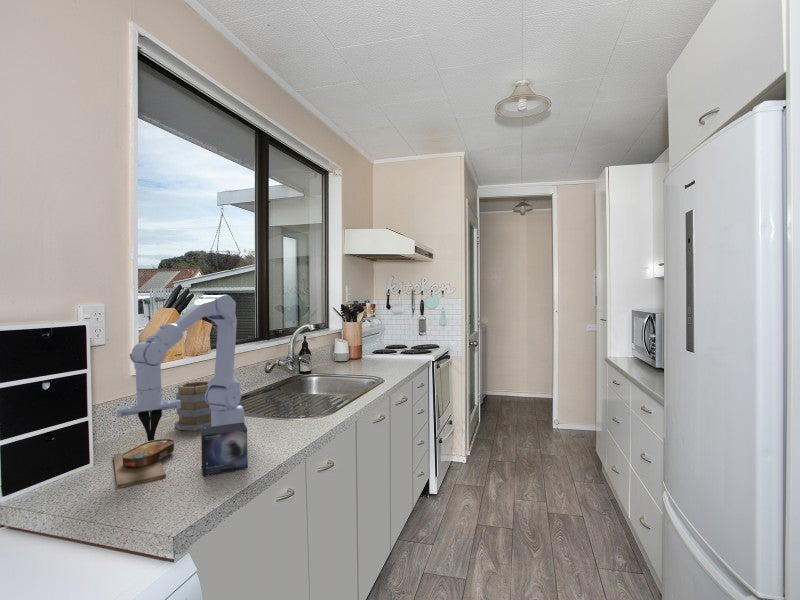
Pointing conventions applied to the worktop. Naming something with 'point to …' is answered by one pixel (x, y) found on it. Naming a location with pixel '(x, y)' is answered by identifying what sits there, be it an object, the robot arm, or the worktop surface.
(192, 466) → the worktop surface
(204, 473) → the small box
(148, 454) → the tin
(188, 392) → the tankard
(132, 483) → the chopping board
